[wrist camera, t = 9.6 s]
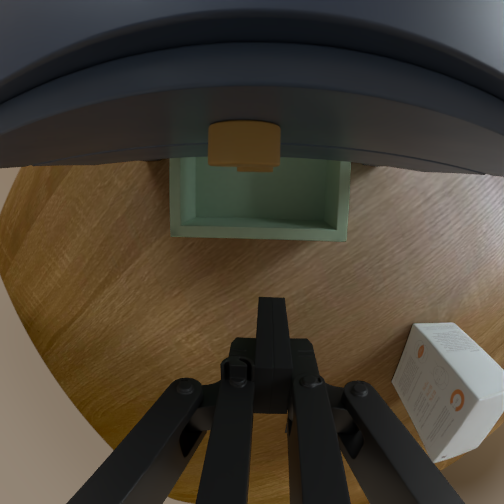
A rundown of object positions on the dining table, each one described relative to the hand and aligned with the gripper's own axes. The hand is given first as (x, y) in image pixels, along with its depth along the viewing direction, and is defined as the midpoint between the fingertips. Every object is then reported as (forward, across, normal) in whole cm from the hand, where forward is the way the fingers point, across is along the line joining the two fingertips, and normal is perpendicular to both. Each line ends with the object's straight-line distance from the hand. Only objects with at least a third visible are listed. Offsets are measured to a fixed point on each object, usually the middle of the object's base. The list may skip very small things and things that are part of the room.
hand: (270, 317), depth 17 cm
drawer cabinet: (+9, -1, +16) cm, 18 cm away
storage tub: (+8, -1, +13) cm, 15 cm away
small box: (+8, +18, -9) cm, 22 cm away
